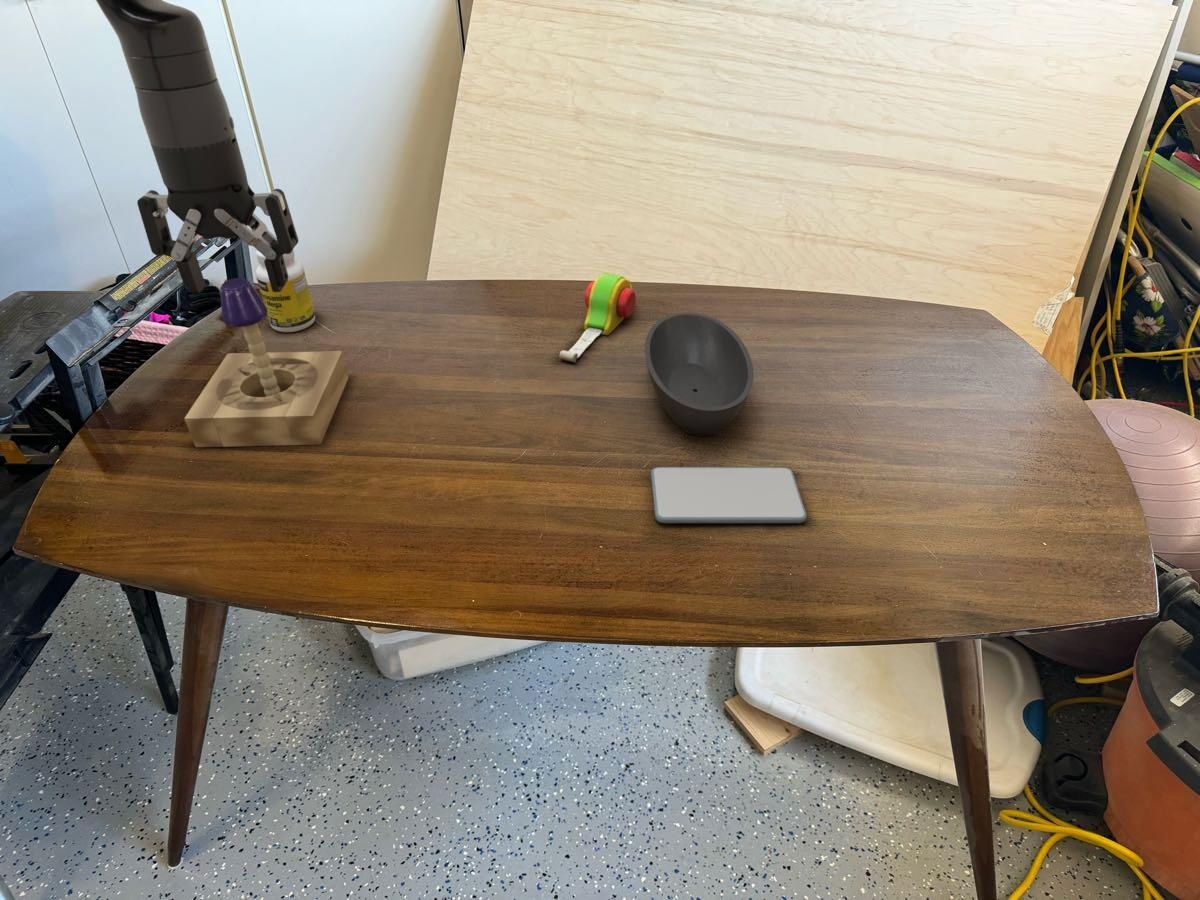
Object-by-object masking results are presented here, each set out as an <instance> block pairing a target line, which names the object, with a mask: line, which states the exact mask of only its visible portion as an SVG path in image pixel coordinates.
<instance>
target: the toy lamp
mask: <svg viewBox="0 0 1200 900" xmlns="http://www.w3.org/2000/svg"><path fill="white" fill-rule="evenodd" d="M220 306H221V307H220V308H221V317H222V318H221V319H222V320H223V323H224V324H226V325H227V326H230V327H235V328H241V330H242V331H243V336H244V340H245V342H247V344H248V345H247V347H248V351H249V353H251V354H252V359H253V362H254V364H255V365H256V371H257V374H258V375H259V376H260V377H261V378H260V382H261V385H262V386H263V387H264V393H265V396H266V397H267V396H272V395H276V394H278V393H281V390H280V388H279V387H278V385H277V379H276V377H275V375H274V374H273V373H274V370H273V367H272V365H271V364H270V357H269V355H268V353H269V352H267V347H266V344H265V341H263V335H262V331H261V330H260V329H259V322H261V321H263V320H264V319H265V318H266V317H267V308H266V306H265V304H264V302H263V299H262V297H260V295H259V293H258V292H257V290H256V289H255V287H254V286H253V284H252V283H251V282H250V281H249V279H247V278H244V277H243V278H242V277H237V278H236V277H235V278H231V279H228V280H226V281H224V282H223V283H222V284H221V286H220Z"/></svg>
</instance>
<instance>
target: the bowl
mask: <svg viewBox="0 0 1200 900" xmlns="http://www.w3.org/2000/svg"><path fill="white" fill-rule="evenodd" d="M644 358H645V362H646V367H647V371H648V375H649V378H650V382H651V384H652V387H653V389H654V392H655V394H656V396H657V398H658V401H659V402H660V404H661V406H662V408H663V409H664V410H665V412H666V413H667V414H668V416H669V417H670V419H671V420H672V421H673V422H674V423H675V424H676V425H677V427H679V428H680V429H681V430H682V431H684V432H686V433H689V434H691V435H693V436H697V437H708V436H711V435H714V434H716V433H717V432H720V431H721V430H722V429H724V428H726V427H727V426H728V425H729V424H730V423H731V422H732V421H733V420H734V419H735V417H736V416H737V415H738V414H739V413H740V411H741V410H742V408H743V406H744V405H745V402H746V401H747V398H748V397H749V395H750V393H751V390H752V387H753V385H754V367H753V365H754V364H753V362H752V358H751V355H750V353H749V351H748V349H747V347H746V345H745V344H744V342H743V340H742V339H741V338H740V337H739V335H738V334H737V333H736V332H735V331H734V330H733V329H732V328H730V327H729V326H728V325H727V324H725V323H724V322H722V321H720V320H719V319H717V318H715V317H712V316H709V315H707V314H703V313H699V312H698V313H696V312H676V313H673V314H669V315H666V316H664V317H662V318H660V319H659V320H657V321H656V322H655V323H654V324H653V325H652V326H651V327H650V329H649V330H648V332H647V335H646V337H645V342H644Z"/></svg>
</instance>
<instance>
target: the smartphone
mask: <svg viewBox="0 0 1200 900" xmlns="http://www.w3.org/2000/svg"><path fill="white" fill-rule="evenodd" d="M650 478H651V479H650V481H651V489H652V490H651V491H652V500H653V510H654V518H655V520H656V521H657V522H659V523H662V524H803V523H804V522H805V521H806V520H807V517H808V515H807V512H806V509H805V506H804V503H803V499H802V496H801V494H800V489H799V486H798V484H797V481H796V478H795V475H794V472H793V470H792V469H790V468H789V467H786V466H657V467H653V468H652V469H651V471H650Z"/></svg>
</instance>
